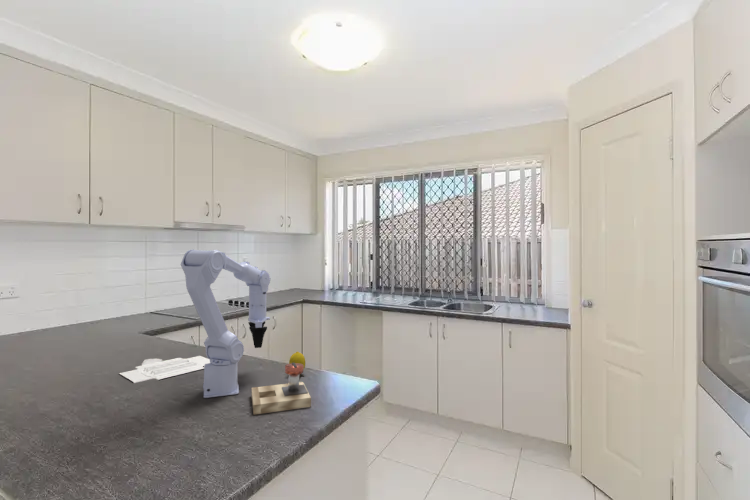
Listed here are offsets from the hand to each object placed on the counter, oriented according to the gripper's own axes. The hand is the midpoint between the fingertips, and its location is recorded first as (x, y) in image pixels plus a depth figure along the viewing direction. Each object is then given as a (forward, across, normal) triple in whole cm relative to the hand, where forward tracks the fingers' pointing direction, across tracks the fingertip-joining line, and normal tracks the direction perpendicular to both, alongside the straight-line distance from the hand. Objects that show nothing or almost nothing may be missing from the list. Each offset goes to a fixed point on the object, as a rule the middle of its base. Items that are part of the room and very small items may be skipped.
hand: (257, 344), depth 127 cm
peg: (+8, -25, -9) cm, 27 cm away
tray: (+11, +18, +29) cm, 36 cm away
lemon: (+11, -4, -13) cm, 17 cm away
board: (+10, -25, -5) cm, 28 cm away
